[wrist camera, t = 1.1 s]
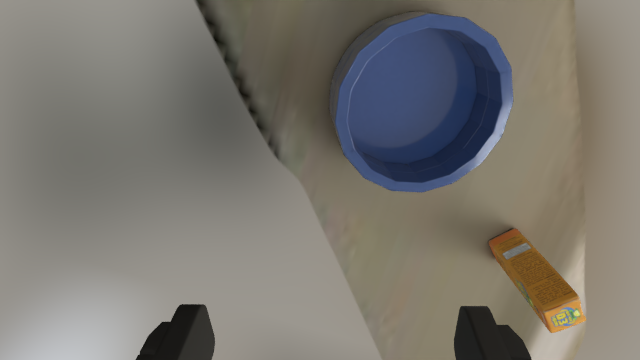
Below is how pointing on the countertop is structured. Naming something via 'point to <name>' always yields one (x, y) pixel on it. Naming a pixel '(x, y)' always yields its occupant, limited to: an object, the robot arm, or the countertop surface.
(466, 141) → the pan
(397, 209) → the countertop surface
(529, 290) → the supplement box
